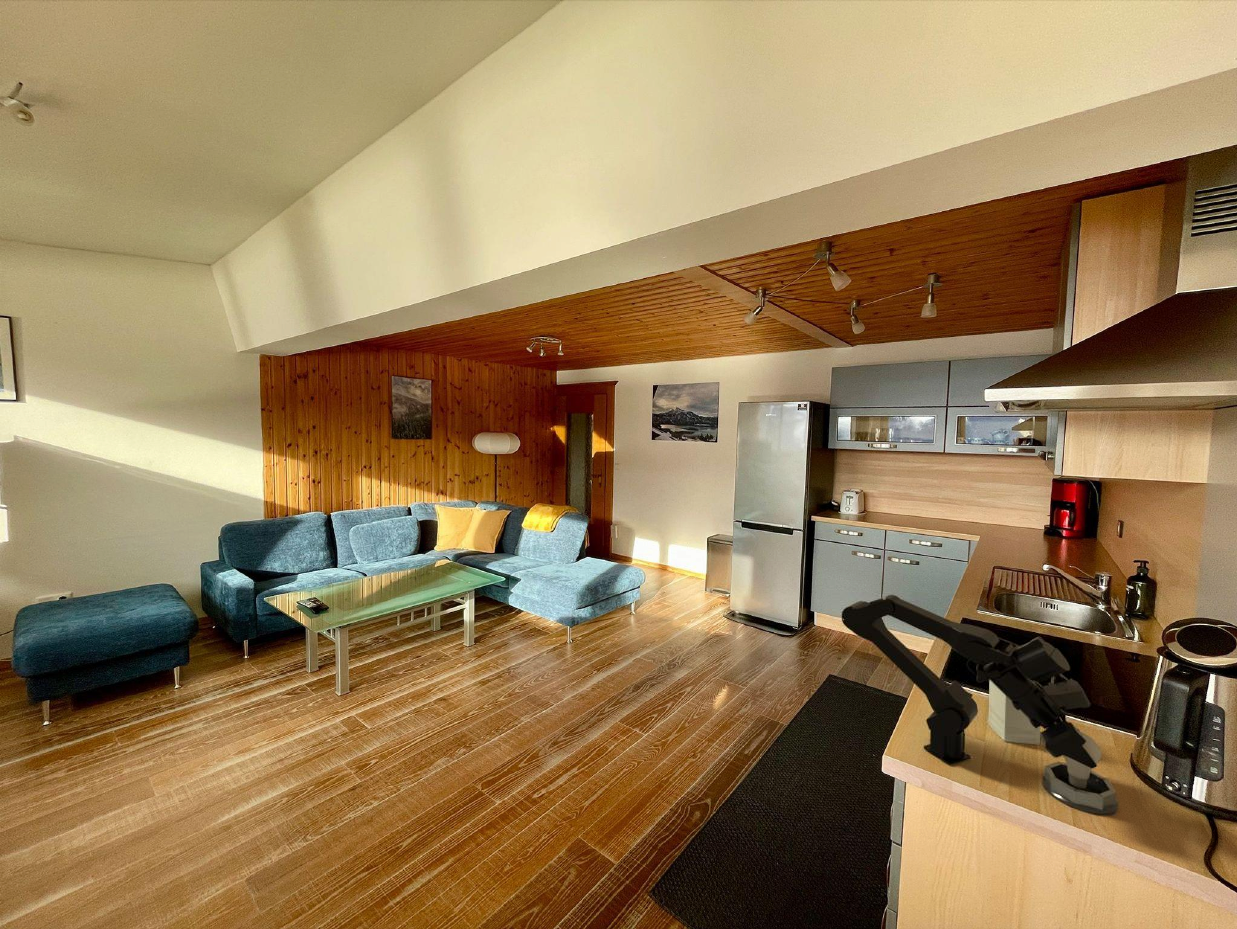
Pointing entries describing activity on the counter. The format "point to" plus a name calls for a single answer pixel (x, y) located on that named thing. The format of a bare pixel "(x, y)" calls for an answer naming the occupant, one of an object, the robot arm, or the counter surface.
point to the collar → (1080, 791)
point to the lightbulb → (1078, 770)
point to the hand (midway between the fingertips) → (1088, 757)
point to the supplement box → (1010, 719)
